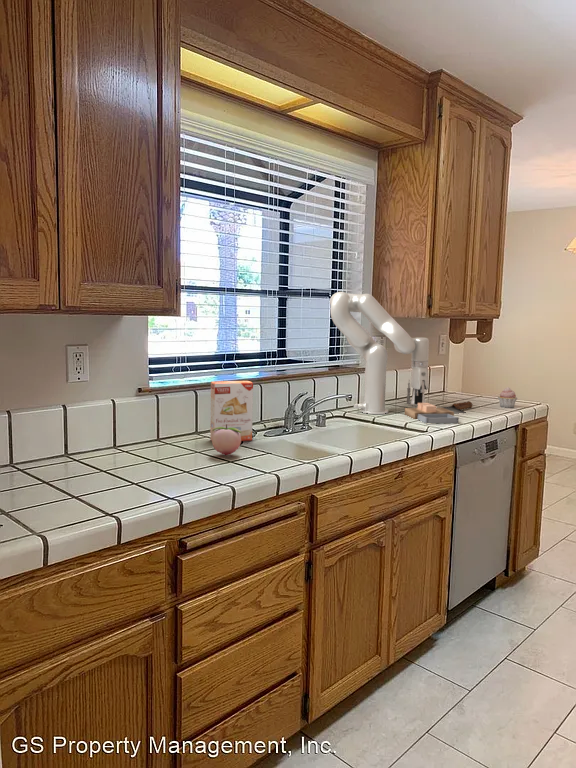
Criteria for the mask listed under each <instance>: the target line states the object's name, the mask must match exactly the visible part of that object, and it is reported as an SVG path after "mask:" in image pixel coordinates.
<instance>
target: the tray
mask: <svg viewBox="0 0 576 768" xmlns="http://www.w3.org/2000/svg"><path fill="white" fill-rule="evenodd" d="M417 419H418V420H417V421H419V420H420V421H419V422H421V421H422V422H421V423H423V422H424V423H423V424H425V423H458V424H459V417H457V416H456V415H454V416H453V415H450V414H418V415H417Z"/></svg>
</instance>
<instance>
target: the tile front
mask: <svg viewBox="0 0 576 768" xmlns="http://www.w3.org/2000/svg"><path fill="white" fill-rule="evenodd" d="M436 408H437V405H435V404H431V405H423V406H422V410H423V411H425V412H436Z"/></svg>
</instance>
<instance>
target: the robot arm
mask: <svg viewBox="0 0 576 768" xmlns="http://www.w3.org/2000/svg"><path fill="white" fill-rule="evenodd" d="M329 306H330V317H331V320H332V322H333V325H335V327H336V328H337V329H338V330H339V331H340V333H342V334H343V336H344V337H345V338H346V340H347V343H349V345H350V347H352V348H353V349H354V351H356V352H357V353H358V355H360V356H361V357H362V358H363V360H365V367H364V369H365V370H364V372H365V373H364V397H363V398H364V399H363V401H362V402H361V403H354V404H353V408H354V409H360V413H362V412H363V413H362V414H366V413H368V414H367V415H384V414H385V413H386V414H388V413H389V410H388V409H386V387H387V386H386V385H387V380H386V379H387V367H388V365H387V364H388V360H389V357H388V356H389V355H388V350H387V348H386V347H385V346H384V345H382V344H380V343H378V342H376V340H375V339H374V338H373V337H372V336H370V333H369V331H368V330H367V329H366V328H365V327H364V326H362V324H360V323H359V322H358V320H357V319H356V318H355V317H354V316H353V315H352V313H361V314H362V315H363V316H364V317H365V318H366V319H367V320H368V321H369V322H370V323H371V325H372V326H373V327H374V328H375V329H376V330H377V331H378V332H380V333H381V334H383V335H385V336H386V338H388V339H389V340H390V341H391V342H392V343H393V347H394V350H395V351H396V352H398V353H400V354H403V355H409V354H410V355H411V360H410V361H411V365H410V368H411V377H410V387H411V388H412V390H413V391H414V395H415V400H414V404H416V405H418V403H422V397H423V393H424V394H425V392H426V391H428V389H429V369H428V368H429V354H430V353H429V348H430V346H429V345H430V340H429V338H428V337H411V335H410V334H409V333H408V332H407V331H406V330H405V329H404V328H403V327H402V326H401V325H400V324H399V323H398V322H397V321H396V320H395V319H394V317H392V316H391V315H390V314H389V313H388V312H387V310H386V309H385V308H384V307H383V306H382V305H381V304H380V303H379V301H378V300H377V299H376V298H375V297H374V296H373V295H372V294H370V293H348V292H344V291H337V292H334V294H332V296H331V297H330V298H329ZM386 414H385V415H386Z"/></svg>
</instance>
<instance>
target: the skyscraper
mask: <svg viewBox="0 0 576 768" xmlns="http://www.w3.org/2000/svg"><path fill="white" fill-rule="evenodd" d="M407 385H408V386H407V388H406V389H407V394H406V403H405V405H406V404H408V406H411V405H413V406H412V407H418V405H416V404H414V400H415V395H414V390H413V392H412V396H411V388H410V387H411V379H408V383H407ZM422 403H426V397H425V392H424V393H423V397H422Z"/></svg>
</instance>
